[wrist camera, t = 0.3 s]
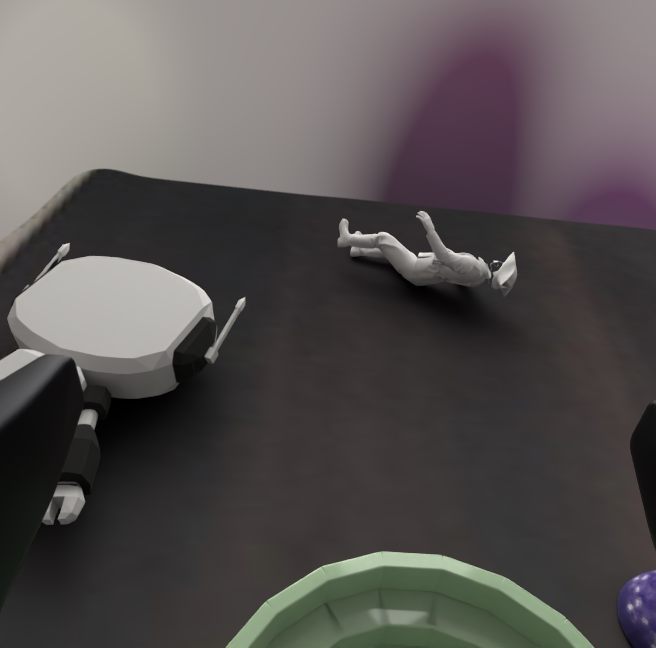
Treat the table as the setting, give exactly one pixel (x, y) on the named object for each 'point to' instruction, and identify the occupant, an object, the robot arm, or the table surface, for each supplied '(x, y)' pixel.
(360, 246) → the white figurine
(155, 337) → the robot toy
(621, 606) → the toy lamp
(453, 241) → the table surface
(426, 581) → the bowl
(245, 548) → the table surface
